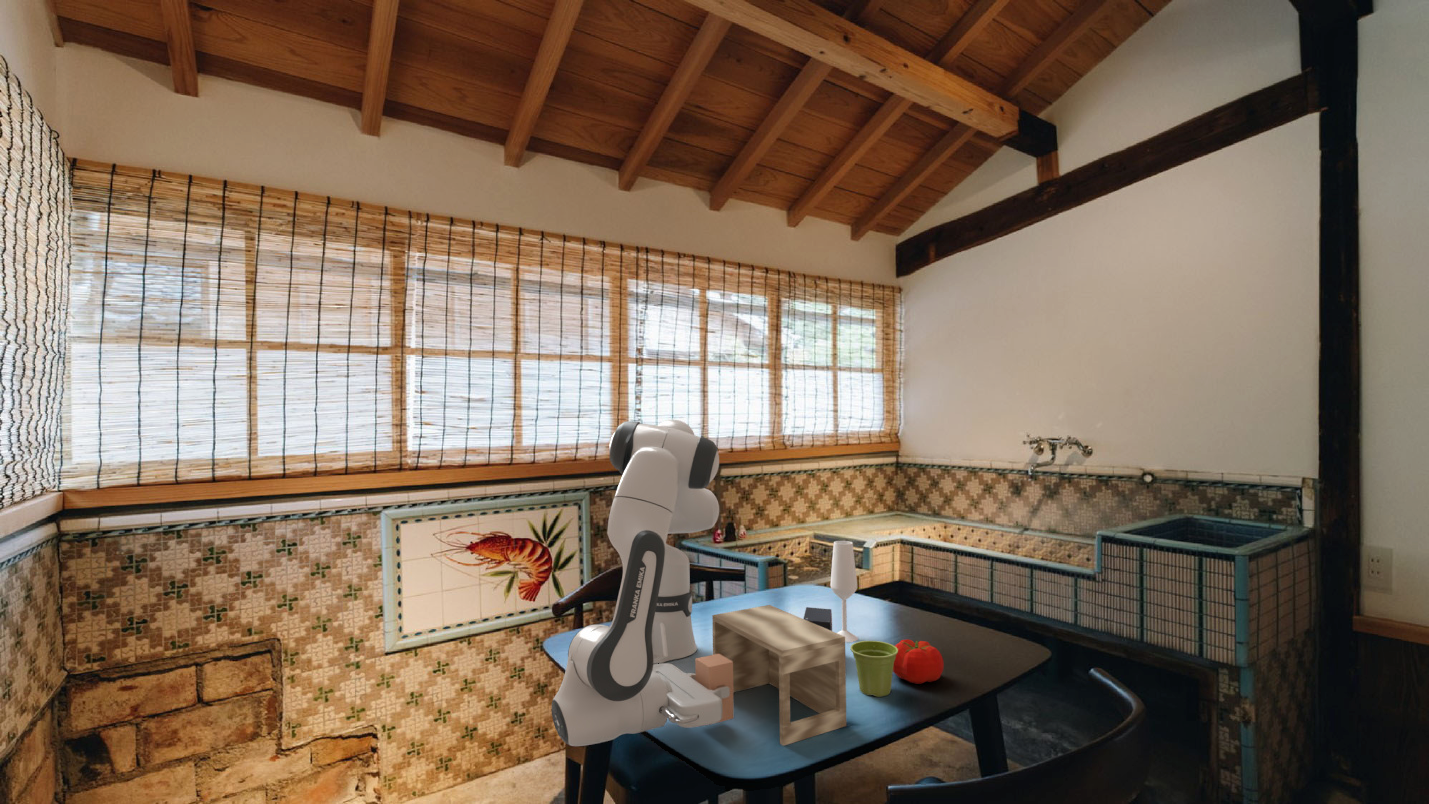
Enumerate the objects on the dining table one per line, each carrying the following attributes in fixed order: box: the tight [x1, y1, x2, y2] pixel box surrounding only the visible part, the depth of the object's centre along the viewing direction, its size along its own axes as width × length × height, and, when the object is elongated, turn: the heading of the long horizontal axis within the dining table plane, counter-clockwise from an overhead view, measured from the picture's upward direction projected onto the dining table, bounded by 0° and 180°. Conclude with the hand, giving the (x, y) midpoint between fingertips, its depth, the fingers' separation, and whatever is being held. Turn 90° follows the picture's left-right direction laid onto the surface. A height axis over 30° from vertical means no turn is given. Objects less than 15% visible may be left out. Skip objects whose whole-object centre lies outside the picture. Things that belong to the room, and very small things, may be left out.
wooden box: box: [711, 604, 847, 746], centre depth 126 cm, size 14×24×16 cm, turn 30°
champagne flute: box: [830, 540, 859, 643], centre depth 167 cm, size 7×7×24 cm
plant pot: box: [849, 640, 898, 698], centre depth 134 cm, size 9×9×9 cm
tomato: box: [893, 638, 945, 685], centre depth 140 cm, size 11×11×8 cm
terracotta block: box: [694, 654, 735, 726], centre depth 119 cm, size 5×5×10 cm
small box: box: [802, 606, 833, 631], centre depth 152 cm, size 11×6×10 cm, turn 168°
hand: (718, 684), depth 119 cm, fingers closed on terracotta block, 5 cm apart
